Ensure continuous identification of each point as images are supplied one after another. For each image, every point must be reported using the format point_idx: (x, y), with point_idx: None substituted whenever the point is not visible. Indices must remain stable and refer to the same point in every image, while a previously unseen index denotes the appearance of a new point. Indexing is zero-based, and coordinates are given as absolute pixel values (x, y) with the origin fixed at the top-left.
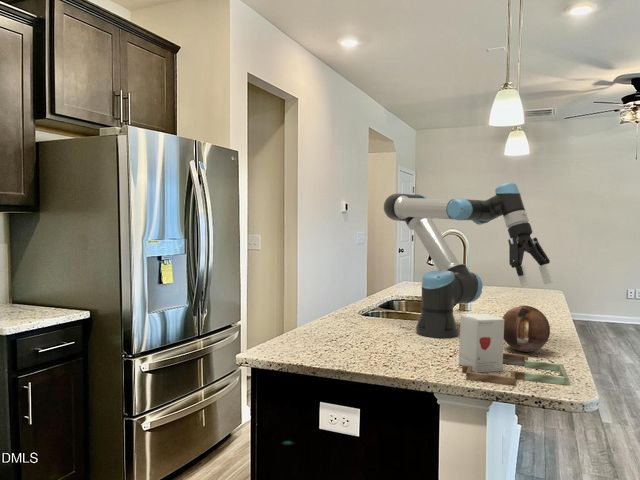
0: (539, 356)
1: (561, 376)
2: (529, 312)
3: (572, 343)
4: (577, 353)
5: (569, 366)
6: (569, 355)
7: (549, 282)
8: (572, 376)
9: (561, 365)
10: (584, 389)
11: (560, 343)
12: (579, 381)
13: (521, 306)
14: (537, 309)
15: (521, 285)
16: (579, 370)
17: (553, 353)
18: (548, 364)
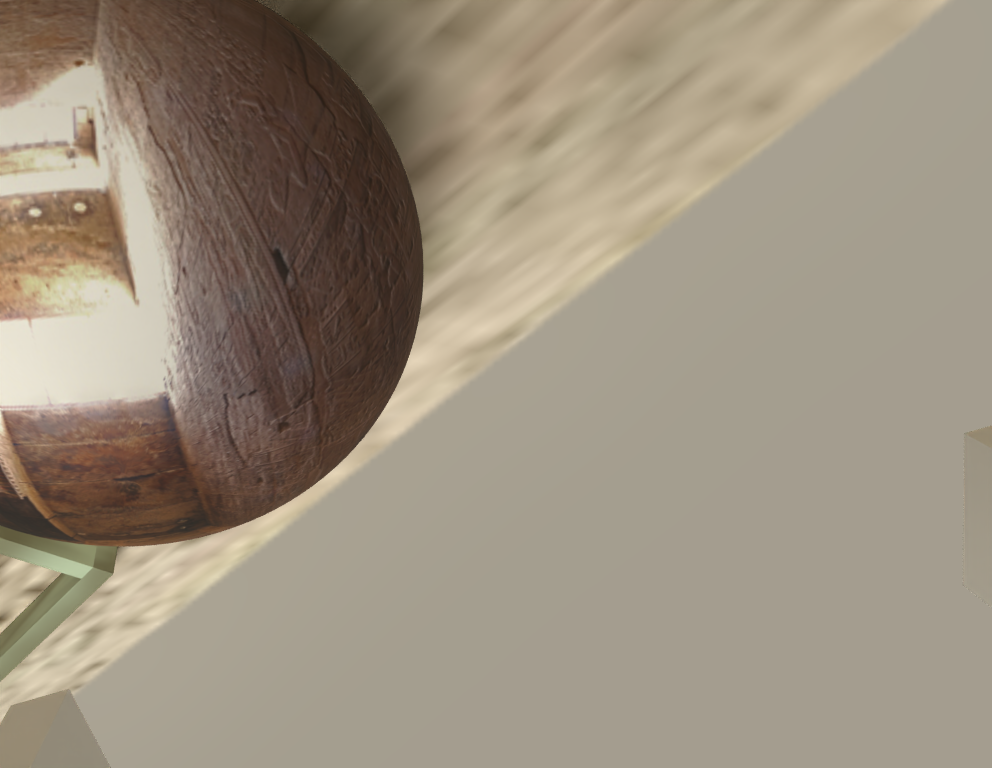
0: None
1: (17, 620)
2: (62, 541)
3: (844, 61)
4: (556, 303)
5: None
6: (452, 329)
7: (967, 553)
8: (101, 606)
9: (86, 587)
10: None
11: (757, 23)
12: (79, 650)
13: (28, 461)
14: (268, 488)
15: (6, 725)
16: (227, 547)
17: None
18: (22, 556)
